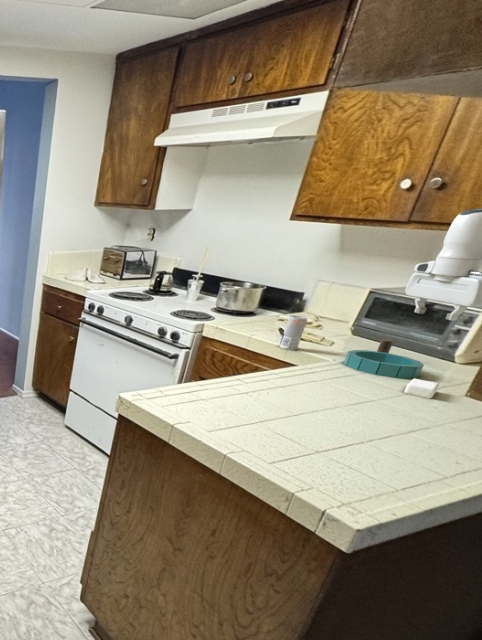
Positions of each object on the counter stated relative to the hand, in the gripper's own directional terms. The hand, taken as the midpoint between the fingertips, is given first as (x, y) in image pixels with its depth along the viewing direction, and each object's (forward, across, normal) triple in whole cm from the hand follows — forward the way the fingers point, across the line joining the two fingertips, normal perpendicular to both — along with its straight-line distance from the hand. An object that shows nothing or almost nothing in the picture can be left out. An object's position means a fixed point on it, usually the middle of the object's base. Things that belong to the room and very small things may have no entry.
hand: (434, 316), depth 138 cm
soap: (+20, -13, +8) cm, 25 cm away
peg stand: (+20, +23, -11) cm, 32 cm away
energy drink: (+19, +31, +16) cm, 39 cm away
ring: (+20, +8, +1) cm, 21 cm away
